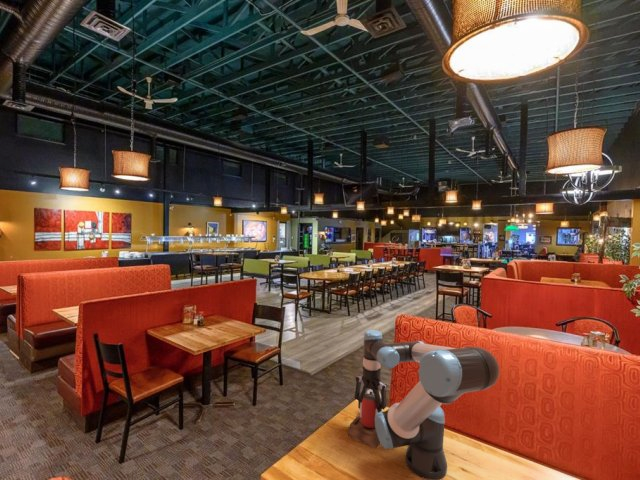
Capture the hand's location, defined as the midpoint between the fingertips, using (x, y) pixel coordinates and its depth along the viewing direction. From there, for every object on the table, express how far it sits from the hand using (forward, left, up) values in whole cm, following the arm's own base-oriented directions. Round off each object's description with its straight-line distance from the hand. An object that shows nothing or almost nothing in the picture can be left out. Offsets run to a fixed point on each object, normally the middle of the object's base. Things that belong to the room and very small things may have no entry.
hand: (369, 419), depth 137 cm
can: (+4, -13, -7) cm, 15 cm away
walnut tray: (0, 0, -7) cm, 7 cm away
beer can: (0, 0, -2) cm, 2 cm away
